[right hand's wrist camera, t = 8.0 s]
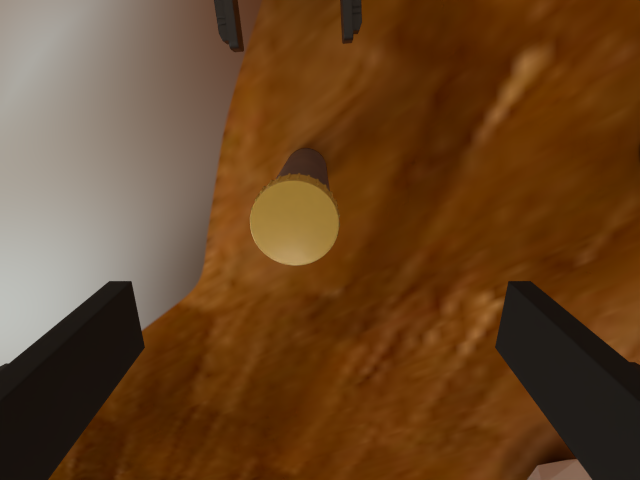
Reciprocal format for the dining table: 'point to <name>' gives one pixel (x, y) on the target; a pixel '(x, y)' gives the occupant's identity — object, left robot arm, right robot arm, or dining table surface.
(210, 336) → the dining table surface
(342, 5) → the left robot arm
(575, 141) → the dining table surface
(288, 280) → the dining table surface
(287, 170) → the dark grey cylinder
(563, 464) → the sphere
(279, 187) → the lid
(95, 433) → the dining table surface
